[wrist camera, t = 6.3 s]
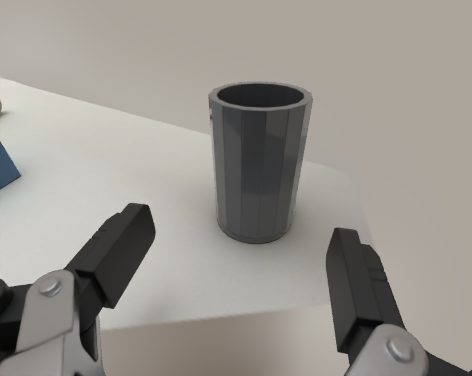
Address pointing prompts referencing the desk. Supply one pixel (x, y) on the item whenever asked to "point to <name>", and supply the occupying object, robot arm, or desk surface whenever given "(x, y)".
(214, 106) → the cup
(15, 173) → the container
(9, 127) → the desk surface
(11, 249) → the desk surface
